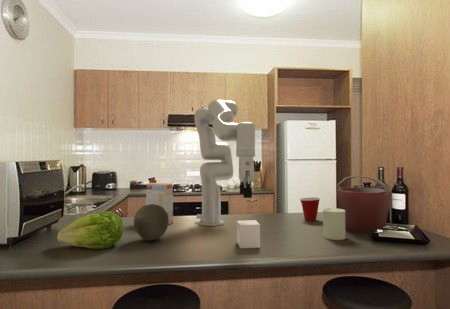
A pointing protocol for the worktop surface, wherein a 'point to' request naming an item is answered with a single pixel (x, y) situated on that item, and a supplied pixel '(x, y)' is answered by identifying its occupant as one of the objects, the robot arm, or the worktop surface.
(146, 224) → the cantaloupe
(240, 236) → the white sugar cube
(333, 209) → the can
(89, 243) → the lettuce
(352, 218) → the bucket
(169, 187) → the cracker box
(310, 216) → the plastic cup
